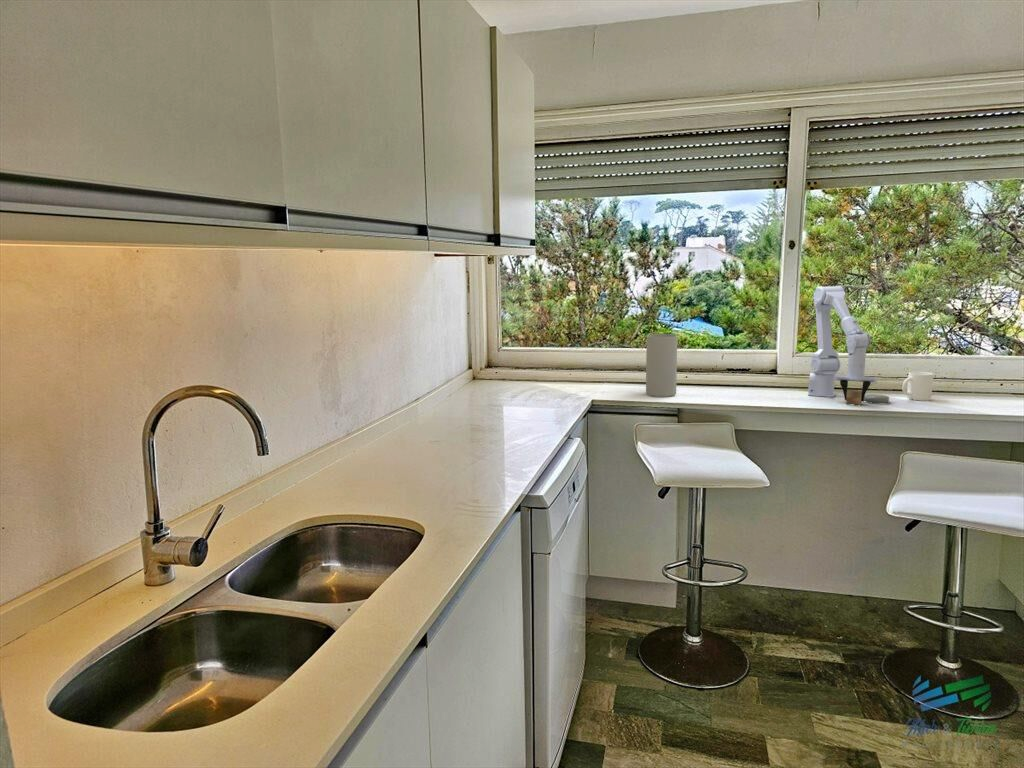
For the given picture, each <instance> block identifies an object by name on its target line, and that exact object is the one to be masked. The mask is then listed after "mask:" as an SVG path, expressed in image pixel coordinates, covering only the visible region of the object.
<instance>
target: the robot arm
mask: <svg viewBox="0 0 1024 768" xmlns="http://www.w3.org/2000/svg"><path fill="white" fill-rule="evenodd" d="M813 304H814V306H813V307H814V308H815V320H816V324H815V325H816V340H817V351H815V352H814V353H812V355H811V362H810V363H811V364H810V368H811V370H812V372H809V373H810V374H809V378H808V393H807V396H813V397H814V396H815V397H828V398H829V397H830V398H834V397H835V396H836V392H835V382H836V381H839V384H840V387H841V389H842V391H843V396H844V397H843V398H844V401H846V397H847V390H848V388H849V387H848V385H849V382H857V383H862V389H861V390H862V398H861V401H862V402H863V401H864V396H865V395H866V394H867V390H868V389H869V388H870V385H871V384H872V383H873V384H877V383H878V377H877V376H867V375H865V369H866V355H867V348H869V347H870V345H871V337H870V334H869V333H867V332H865V331H864V330H863V329H862V328H861V325H860V323H859V322H858V320H857V318H856V317H854V316H852V315H851V312H850V311H849V307H848V304H847V302H846V292H845V289H844V287H843V286H842V285H836V286H822V285H821V286H817V287H816V289H815V290H814V291H813ZM833 308H834V310H835V311H836V313H837V314H838V317H840V319H841V322H840V326H841V329H842V331H843V332H844V334H845V336H846V340H845V345H846V347H847V351H846V352H847V353H848V360H847V361H848V363H847V374H846V375H845V374H843V375H842V374H837V373H838V372H839V370H840V368H841V361H840V358H839V353H838V352H837V351H836V350H834V349H833V337H832V336H833V335H832V321H831V320H832V319H831V310H832V309H833Z"/></svg>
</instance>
